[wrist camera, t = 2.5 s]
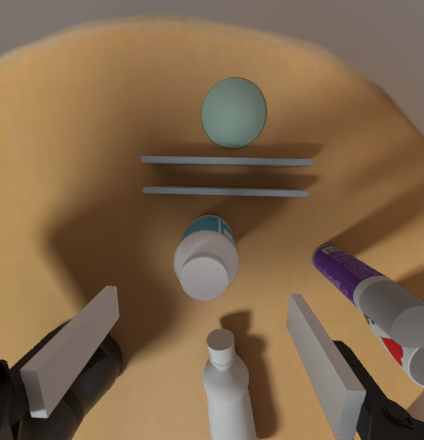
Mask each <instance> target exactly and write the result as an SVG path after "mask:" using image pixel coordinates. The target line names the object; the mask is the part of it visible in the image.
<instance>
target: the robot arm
mask: <svg viewBox="0 0 424 440" xmlns="http://www.w3.org/2000/svg"><path fill="white" fill-rule="evenodd" d="M118 319H119V307H118V297H117V287H116V286H106V287H105V288H104V289H103V290H102V291H101V292H99V293H98V294H97V295H96V296H95V297H94V298H93V299H92V300H91V301H90V302H89V303H88V304H87V305H86V306H85V307H84V308H83V309H82V310H81V311H80V312H79V313H78V314H77V315H76V316H75V317H74V318H73V319H72V320H71V321H70V322H69V323H68V324H65V325H62V326H60V327H58V328H56V329H55V330H53V331H52V332H50V333H48V334H47V335H46V336H45V337H44V338H43V339H42V340H41V341H40V342H39V343H38V344H37V345H35V346H34V347H33V349H31V350H30V351H29V352H28V353H27V354H26V355H25V356H24V357H22V358H21V359H20V360H19V361H18V362H17V363H16V364H15V365H14V366H13V367H12V368H11V369H9V367H8V364H7V361H5V360H0V440H72V438H73V436H74V434H75V432H76V430H77V429H78V427H79V425H80V423H81V422H82V420H83V418H84V417H85V415H86V414H87V413H88V412H89V411H90V410H91V409H92V408H93V407H94V405H95V404H96V403H97V402H98V401H99V400H100V399H101V398H102V396H103V395H104V394H105V393H106V392H107V391H108V390H109V389H110V388H111V386H112V385H113V383H114V382H115V380H116V378H117V376H118V374H119V372H120V370H121V366H122V356H121V352H120V349H119V347H118V345H117V344H116V342H115V341H114V340H113V339H112V338H111V337H110V336H109V335H108V333H109V331H110V330H111V328H112V327H113V326H114V324H115V323H116V321H117V320H118ZM286 326H287V328H288V330H289V332H290V335H291V337H292V339H293V342H294V344H295V346H296V349H297V351H298V353H299V355H300V358H301V360H302V362H303V365H304V367H305V369H306V371H307V374H308V376H309V378H310V381H311V383H312V385H313V388H314V390H315V392H316V394H317V397H318V399H319V401H320V404H321V406H322V408H323V410H324V413H325V415H326V417H327V420H328V422H329V424H330V427H331V429H332V431H333V433H334V436H335V438H336V439H345V440H354V437H355V433H356V430H357V432H358V434H359V436H360V438H361V440H424V422H422V421H419V420H416V419H414V418H412V417H411V415H410V414H409V413H408V412H407V411H406V410H405V409H404V408H403V407H401V406H400V405H398V404H397V403H396V402H394V401H392V400H389V399H388V398H387V397H386V396H385V394H384V393H383V392H382V390H381V389H380V388H379V386H378V385H377V384H376V382H375V381H374V380H373V378H372V377H371V376H370V374H369V373H368V372H367V370H366V369H365V368H364V367H363V365H362V364H361V362H360V361H359V360H358V359H357V357H356V355H355V354H354V353H353V351H352V350H351V349H350V348H349V347H348V346H347V345H345V344H344V343H343V342H342V341H334V340H331V338H330V337H329V335H328V334H327V332H326V331H325V329H324V328H323V326H322V325H321V323H320V322H319V320H318V319H317V317H316V316H315V314H314V313H313V311H312V310H311V308H310V307H309V305H308V304H307V302H306V301H305V299H304V298H303V296H302V295H301V294H290V302H289V309H288V317H287V325H286Z"/></svg>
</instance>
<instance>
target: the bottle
mask: <svg viewBox="0 0 424 440" xmlns="http://www.w3.org/2000/svg"><path fill="white" fill-rule="evenodd" d="M207 345H208V349H209V353H210V354H209V360H208V362H207V364H206V366H205V368H204V371H203V377H202V382H203V385H204V388H205V391H206V393H207V395H208V400H207V405H208V414H209V424H210V433H211V440H258V439H257V437H256V431H255V425H254V419H253V413H252V407H251V401H250V395H249V390H248V383H249V373H248V368H247V367H246V365H245V364H244V362H243V361H242V359H241V358H240V357H239V356H238V355H237V354H236V351H235V350H234V335H233V333H232V332H231V331H229V330H228V329H216V330H214V331H212V332H211V333H210V334H209V335H208V337H207Z"/></svg>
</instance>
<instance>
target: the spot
mask: <svg viewBox="0 0 424 440" xmlns="http://www.w3.org/2000/svg"><path fill="white" fill-rule="evenodd" d="M265 119H266V105H265V101H264V98H263V96H262V94H261V92H260V91H259V89H258V88H257V87H256V86H255V85H254V84H252V83H251V82H249V81H247V80H245V79H241V78H229V79H225V80H222V81H221V82H219V83H217V84H216V85H215V86H214V87H212V88H211V90H210V91H209V92H208V94H207V95H206V97H205V100H204V102H203V106H202V123H203V126H204V129H205V131H206V133H207V135H208V136H209V137H210V139H211V140H213V141H214V142H215V143H216V144H218V145H220V146H222V147H225V148H232V149H233V148H240V147H243V146H246V145H248V144H249V143H251V142H252V141H253V140H254V139H255V138H256V137H257V136H258V135H259V133H260V132H261V130H262V128H263V126H264V123H265Z"/></svg>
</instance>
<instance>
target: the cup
mask: <svg viewBox="0 0 424 440" xmlns="http://www.w3.org/2000/svg"><path fill="white" fill-rule="evenodd" d="M363 315H364V317H365V319H366V321H367V322H368V324H369V326H370V328H371V330H372V331H373V332H374V334H375V335H376V337H377V338H378V339H379V341H380V342H381V344H382V345H383V346H384V348H385V349H386V350H387V352H388V353H389V354H390V355H391V356H392V357H393V358H394V360H395V361H396V362H397V363H398V364H399V365H400V366H401V368H402V369H403V370H404V371H405V372H406V373H407V375H408V376H409V377H410V378H411V379H412V380H413V381H414V382H415V383H416V384H418V385H419V386H422V387H424V347H420V348H406V347H403V346H401V345H399V344H398V343H396V342H395V341H394V340H393V339H392V338H391V337H390V336H389V335H387V334H386V333H385V332H384V331H383V330H382V329H381V328H380V327H379V326H378V325H376V324H375V323H374V322H373V321H372V320H371V319H370V318H369V317H368V316H366V315H365V314H364V313H363Z"/></svg>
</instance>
